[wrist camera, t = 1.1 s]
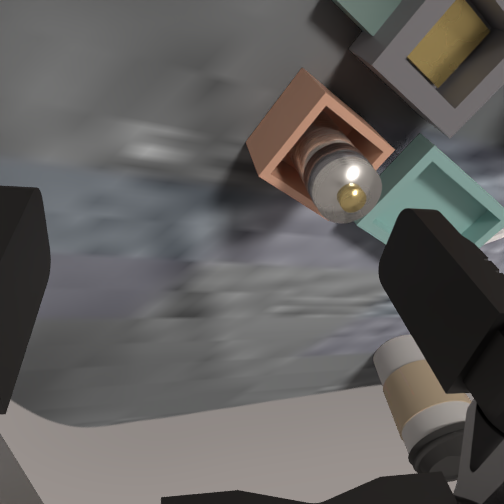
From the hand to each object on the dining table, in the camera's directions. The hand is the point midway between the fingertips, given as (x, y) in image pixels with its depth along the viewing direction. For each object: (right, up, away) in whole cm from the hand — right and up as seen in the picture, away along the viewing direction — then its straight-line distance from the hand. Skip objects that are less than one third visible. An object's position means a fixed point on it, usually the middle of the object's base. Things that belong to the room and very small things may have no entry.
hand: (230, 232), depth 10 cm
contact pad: (+14, +15, +21) cm, 30 cm away
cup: (+5, +9, +26) cm, 28 cm away
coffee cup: (+19, -13, +46) cm, 51 cm away
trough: (+17, +4, +32) cm, 37 cm away
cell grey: (+5, +9, +25) cm, 27 cm away
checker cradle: (+12, +17, +22) cm, 30 cm away
